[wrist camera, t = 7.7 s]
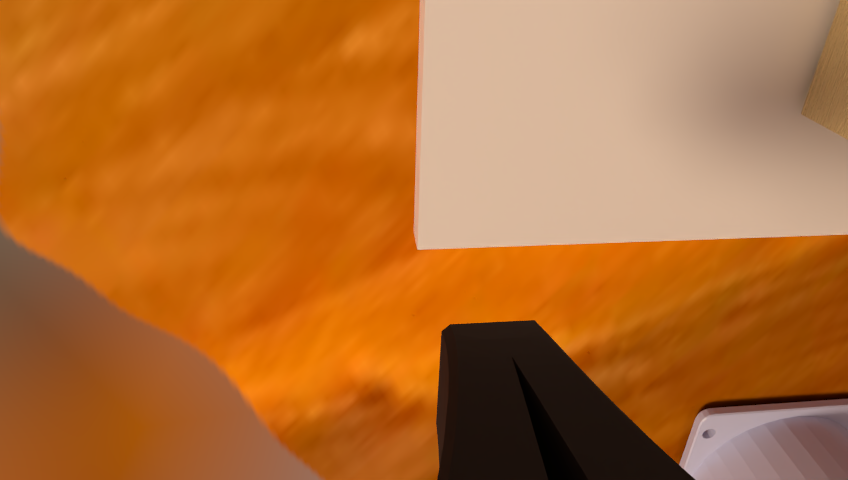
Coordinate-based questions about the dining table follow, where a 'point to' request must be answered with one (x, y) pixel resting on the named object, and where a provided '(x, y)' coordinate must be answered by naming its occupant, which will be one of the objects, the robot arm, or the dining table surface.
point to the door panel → (622, 122)
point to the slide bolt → (831, 79)
